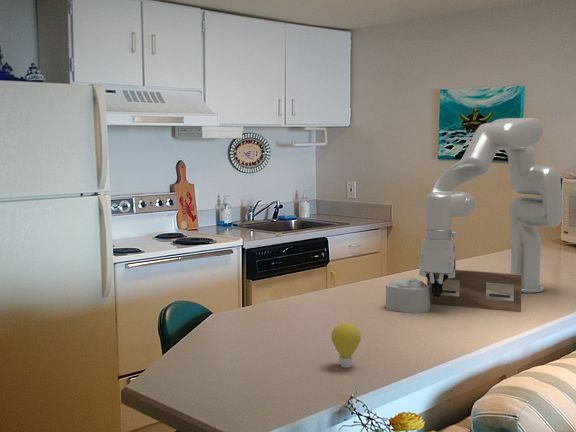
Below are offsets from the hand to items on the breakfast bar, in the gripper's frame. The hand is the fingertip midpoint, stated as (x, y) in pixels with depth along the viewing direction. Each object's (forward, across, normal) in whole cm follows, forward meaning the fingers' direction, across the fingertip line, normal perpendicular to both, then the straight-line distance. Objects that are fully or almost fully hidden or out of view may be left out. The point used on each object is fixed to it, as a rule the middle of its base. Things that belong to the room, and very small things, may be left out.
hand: (436, 295), depth 206 cm
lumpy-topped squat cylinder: (+5, +8, -1) cm, 10 cm away
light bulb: (+5, +9, +58) cm, 59 cm away
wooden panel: (+5, -9, -10) cm, 14 cm away
